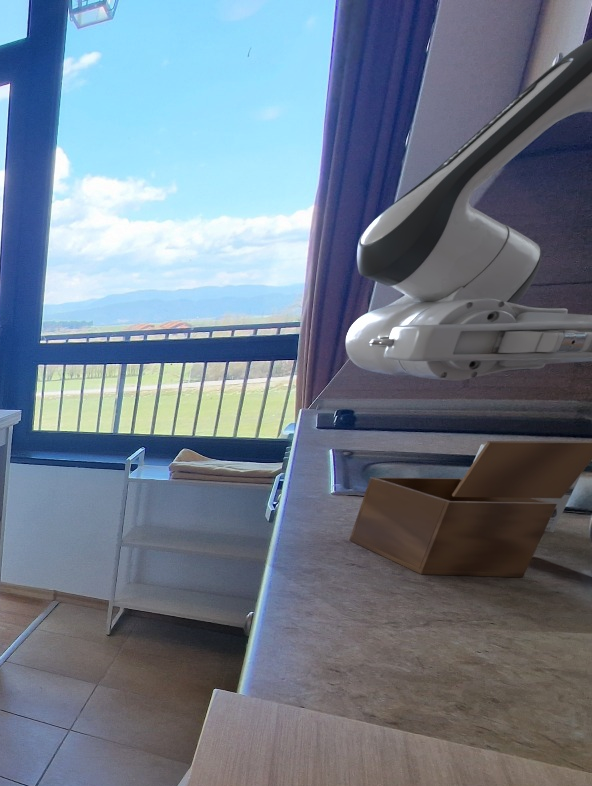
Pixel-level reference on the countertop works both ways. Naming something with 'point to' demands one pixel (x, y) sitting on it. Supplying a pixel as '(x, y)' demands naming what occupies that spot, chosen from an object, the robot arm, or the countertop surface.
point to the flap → (525, 469)
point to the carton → (449, 527)
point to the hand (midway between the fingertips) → (573, 342)
